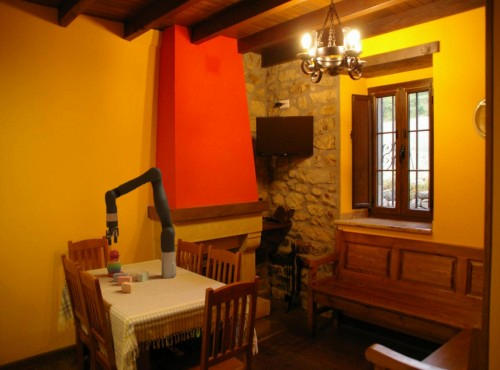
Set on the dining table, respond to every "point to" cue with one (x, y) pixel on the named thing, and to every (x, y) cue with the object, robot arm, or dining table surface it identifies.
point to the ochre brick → (128, 287)
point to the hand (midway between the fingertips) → (112, 244)
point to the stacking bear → (113, 263)
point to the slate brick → (116, 275)
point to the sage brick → (143, 276)
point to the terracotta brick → (124, 279)
